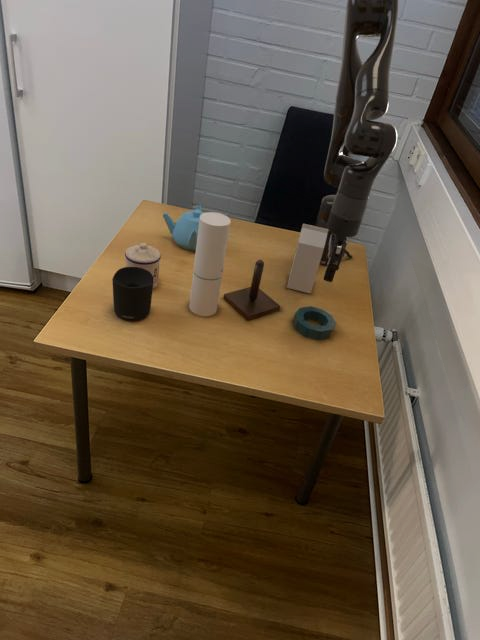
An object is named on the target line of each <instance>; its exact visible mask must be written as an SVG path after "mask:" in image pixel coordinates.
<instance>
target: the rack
mask: <svg viewBox="0 0 480 640" xmlns="http://www.w3.org/2000/svg"><path fill="white" fill-rule="evenodd" d="M264 266H265V262H264V260H262V259H257V260H256V261H255V265H254V270H253V273H252V279H251V284H250V286H248V287H245V288H241V289H237V290H234V291H230V292H226V293H224V294H223V300H224V301H225V302H226V303H227V304H228V305H230V306H231V307H232V308H233V309H234V310H235V311H236V312H237V313H238V314H240V316H242V317H243V319H245V320H246V321H248V322H249V321H252V320H255V319H258V318H261V317H264V316H267V315H270V314H273V313H275V312H279V311H280V310H281V305H280V304H279V303H278V302H276V301H275V300H274V299H273V298H272V297H270V296H269V295H268V294H267V293H265V292H264V291H263V290H262V289H261V288H260V286H261V281H262V278H263V277H262V276H263V272H264Z"/></svg>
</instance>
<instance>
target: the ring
mask: <svg viewBox="0 0 480 640" xmlns="http://www.w3.org/2000/svg"><path fill="white" fill-rule="evenodd" d="M307 320H313V321H316V322H318V323H320V324H321V325H320V326H319V325H314V324H311V323H310V322H308V321H307ZM292 325H293V327H294V330H295V331H296V332H298V333H299V334H301V336H303V337H305V338H309V339H312V340H318V341H321V340H326V339H329V338H330V337H331V336H332V335H333V333H334V331H335V328H336V325H337V322H336V320H335V317H334V315H333V314H331V313H329V312H328V311H327V310H325V309H323V308H320V307H315V306H311V305H309V306H302V307H299V308H298V309H297V310H296V312H294V316H293V319H292Z"/></svg>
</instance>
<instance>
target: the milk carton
mask: <svg viewBox="0 0 480 640" xmlns="http://www.w3.org/2000/svg"><path fill="white" fill-rule="evenodd" d="M327 233H328V229H324V228H320V227H316V226H315V225H311V224H306V223H302V226H301V229H300V233H299V237H298V242H297V246H296V249H295V253H294V257H293V261H292V265H291V269H290V272H289V276H288V280H287V285H286V288H287V289H291V290H294V291H298V292H303V293H306V294H311V293H312V291H313V287H314V284H315V281H316V277H317V273H318V269H319V267H320V265H321V264H320V260H321V257H322V253H323V250H324V246H325V242H326V238H327Z"/></svg>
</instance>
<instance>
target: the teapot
mask: <svg viewBox="0 0 480 640" xmlns="http://www.w3.org/2000/svg"><path fill="white" fill-rule="evenodd" d="M203 213H204V212H203V211H202V205H196V207H195V209H192V210H187V211H185V212H184V213H182V214H181V216H179V218H178V219H177V221H173V218H172V217H171V216H170V214H169V213H166V212H164V213H162V217H163V220H164V222H165V224H166V226H167V228H168V230H169V233H170V235H171V237H172V240H173V241H174V243H175V244H176V245H177V246H179V247H180V248H182V249H184V250H188V251H192V252H193V251H194V252H196V245H197V236H198V228H199V219H200V215H201V214H203Z"/></svg>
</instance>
